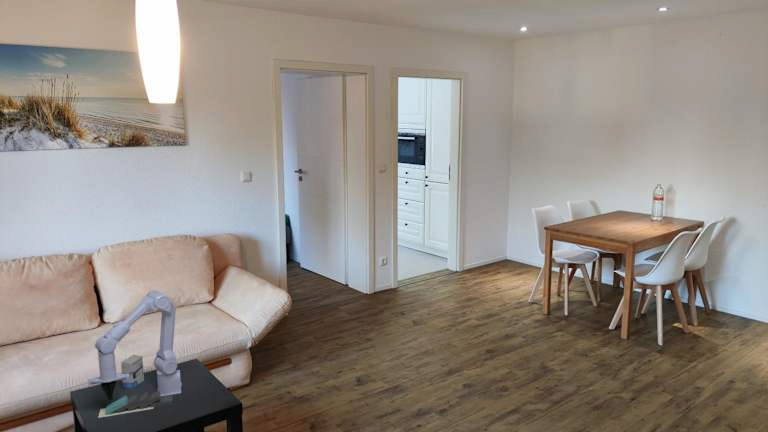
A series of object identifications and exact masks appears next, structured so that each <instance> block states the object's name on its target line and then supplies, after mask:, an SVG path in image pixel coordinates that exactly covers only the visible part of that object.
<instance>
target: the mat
mask: <svg viewBox="0 0 768 432" xmlns="http://www.w3.org/2000/svg"><path fill="white" fill-rule="evenodd" d="M154 408H155V407H152V408H151V404H150V405H148V406H146V407H144V408H143V409H140V407H139V406H138V407H137V408H135V409H133V410H131V411H129V409H128V408H127V409H125V410H123V411H121V412H120V413H118V411H117V410H115V411H114V412H112V413H110V414H108V415H107V414H106V412H105V410H106V407H105V408H100V409H99V413H98V417H97V418H98V419H100V418H104V417H105V418H106V417H111V416H118V415H125V414H129V413H134V412H135V413H136V412H141V411H146V410H147V411H148V410H153V409H154Z"/></svg>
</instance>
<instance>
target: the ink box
mask: <svg viewBox="0 0 768 432" xmlns="http://www.w3.org/2000/svg"><path fill="white" fill-rule="evenodd" d="M120 364H121V374H128V373H129V380H122V389H131V390H132V389H134V388H136V387H138V385H140V384H141V383H143V382H144V381H145V376H144V374H145V373H144V372H145V371H144V361H143V355H138V354H137V355H136V354H132V355H130V356H129V357H126V359H124V360H122V361H121V362H120Z"/></svg>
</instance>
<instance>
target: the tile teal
mask: <svg viewBox="0 0 768 432" xmlns="http://www.w3.org/2000/svg"><path fill="white" fill-rule="evenodd" d="M128 398H129V397H128V396H127V395H124V396H122V397H120V398H119V399H117V400H115V401H113V402H111V403H110V404H108V405H106V407H105V408H106V410H105V412H106V414H107V415H108V414H110V413H112V412H114V411H115V410H117V409H119V408H121V407H123V406H125V405H126V404H127V402H128Z"/></svg>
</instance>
